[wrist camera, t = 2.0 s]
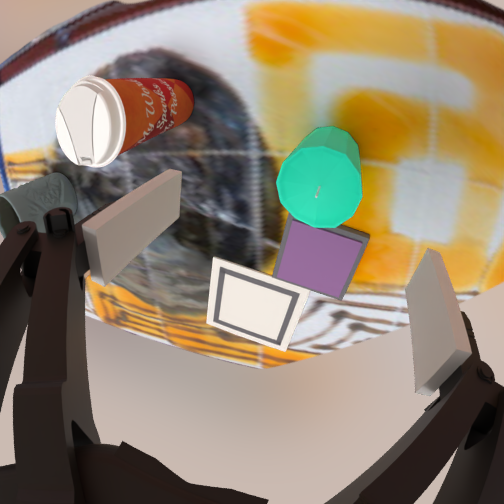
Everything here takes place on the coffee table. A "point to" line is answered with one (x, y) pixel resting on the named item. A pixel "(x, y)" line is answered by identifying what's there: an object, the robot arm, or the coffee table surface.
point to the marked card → (254, 304)
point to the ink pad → (319, 257)
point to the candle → (322, 178)
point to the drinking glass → (35, 201)
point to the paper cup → (118, 115)
